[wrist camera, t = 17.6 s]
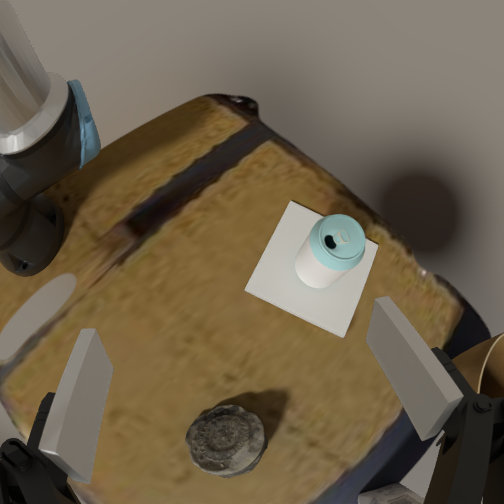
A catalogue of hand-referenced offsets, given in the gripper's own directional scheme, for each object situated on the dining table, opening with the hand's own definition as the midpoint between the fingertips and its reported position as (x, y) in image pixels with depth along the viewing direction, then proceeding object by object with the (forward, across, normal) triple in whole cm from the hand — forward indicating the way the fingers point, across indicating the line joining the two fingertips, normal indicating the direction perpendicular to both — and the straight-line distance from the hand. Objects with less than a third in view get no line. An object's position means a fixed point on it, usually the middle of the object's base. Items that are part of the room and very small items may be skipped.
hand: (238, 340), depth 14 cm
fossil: (+12, -3, -30) cm, 33 cm away
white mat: (+28, +13, -14) cm, 34 cm away
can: (+28, +13, -13) cm, 34 cm away
